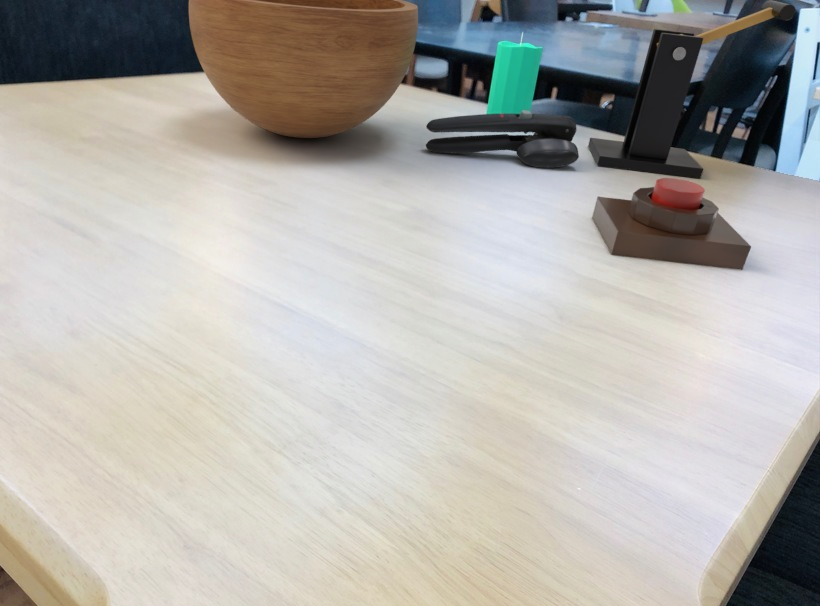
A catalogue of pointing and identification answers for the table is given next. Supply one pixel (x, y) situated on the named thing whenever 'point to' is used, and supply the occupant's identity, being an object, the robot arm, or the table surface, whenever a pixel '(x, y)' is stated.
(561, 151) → the can opener
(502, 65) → the candle
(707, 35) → the lever
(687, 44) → the bracket
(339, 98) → the bowl
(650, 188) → the button block
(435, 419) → the table surface
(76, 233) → the table surface
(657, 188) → the button
